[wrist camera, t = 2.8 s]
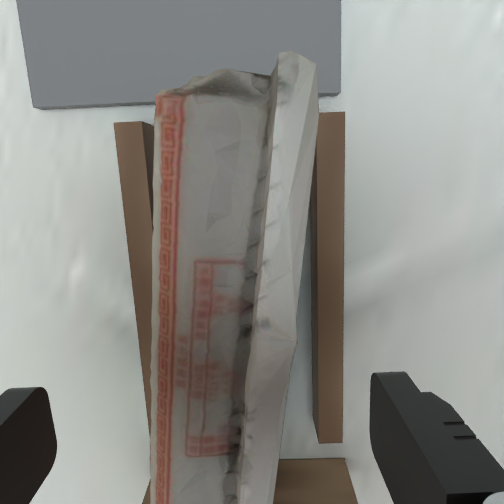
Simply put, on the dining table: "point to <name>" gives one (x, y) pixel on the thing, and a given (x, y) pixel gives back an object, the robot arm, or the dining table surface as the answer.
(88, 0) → the charcoal pad
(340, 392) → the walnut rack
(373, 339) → the dining table surface
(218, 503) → the packaged product
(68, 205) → the dining table surface
